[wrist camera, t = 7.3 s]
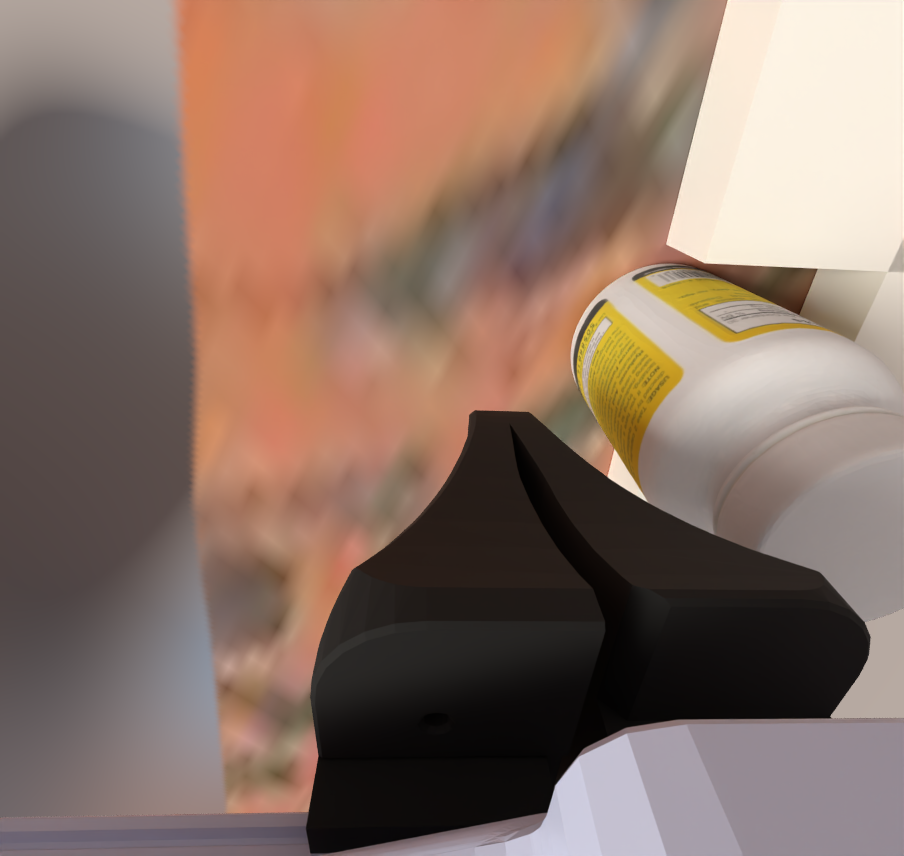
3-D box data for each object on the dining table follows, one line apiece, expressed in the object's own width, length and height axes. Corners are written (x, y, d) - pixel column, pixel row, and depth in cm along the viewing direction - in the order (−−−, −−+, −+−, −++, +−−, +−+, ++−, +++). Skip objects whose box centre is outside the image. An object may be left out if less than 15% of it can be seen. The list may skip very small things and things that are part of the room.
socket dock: (765, 562, 22) (814, 625, 20) (586, 560, 22) (610, 625, 19) (1038, 10, 13) (1212, -24, 10) (731, -15, 12) (822, -58, 10)
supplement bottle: (613, 441, 19) (765, 692, 10) (537, 327, 17) (649, 526, 8) (755, 359, 17) (1068, 570, 9) (693, 222, 15) (1031, 326, 7)
